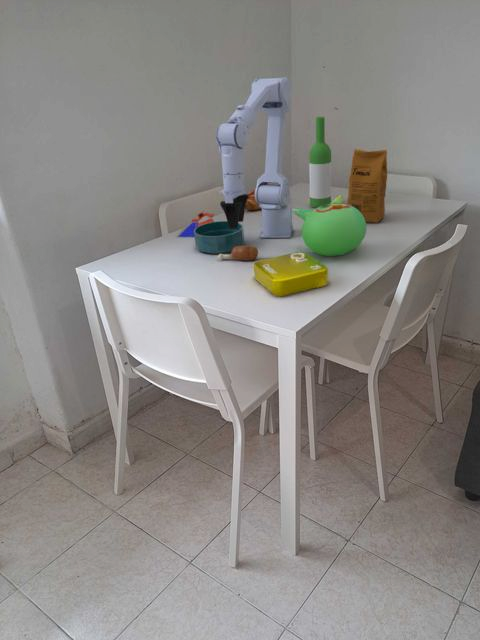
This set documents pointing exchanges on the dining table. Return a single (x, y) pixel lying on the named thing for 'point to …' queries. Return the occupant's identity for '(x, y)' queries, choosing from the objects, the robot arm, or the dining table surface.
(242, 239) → the teal mixing bowl
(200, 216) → the fish
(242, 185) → the robot arm
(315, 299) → the dining table surface
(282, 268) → the element tile
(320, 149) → the wine bottle
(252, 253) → the drumstick
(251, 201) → the croissant
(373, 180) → the coffee package
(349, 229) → the green teapot
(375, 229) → the dining table surface
